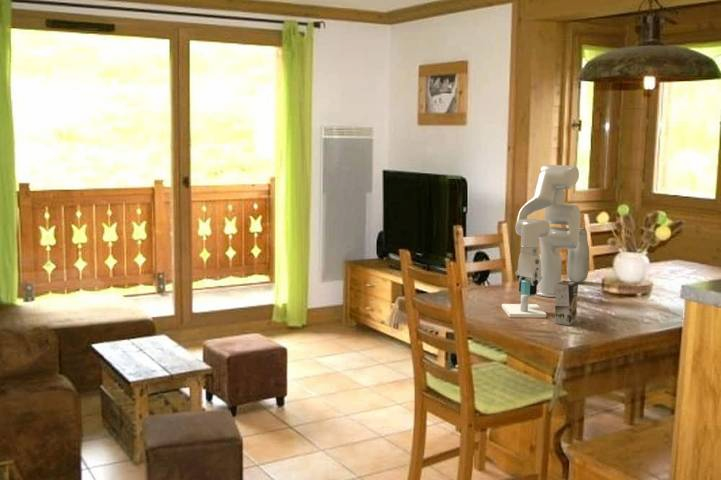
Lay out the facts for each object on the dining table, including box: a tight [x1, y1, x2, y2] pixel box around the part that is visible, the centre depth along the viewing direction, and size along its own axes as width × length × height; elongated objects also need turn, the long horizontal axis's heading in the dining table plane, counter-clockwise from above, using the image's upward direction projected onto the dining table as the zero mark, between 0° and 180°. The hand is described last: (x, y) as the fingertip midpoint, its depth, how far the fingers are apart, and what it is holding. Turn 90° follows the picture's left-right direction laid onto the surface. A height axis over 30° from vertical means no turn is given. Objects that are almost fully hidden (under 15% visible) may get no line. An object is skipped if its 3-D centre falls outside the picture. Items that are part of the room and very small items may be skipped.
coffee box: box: [554, 280, 579, 326], centre depth 310 cm, size 9×6×16 cm
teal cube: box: [520, 278, 536, 297], centre depth 330 cm, size 6×6×6 cm
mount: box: [501, 294, 547, 319], centre depth 327 cm, size 15×18×8 cm
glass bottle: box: [566, 226, 590, 284], centre depth 390 cm, size 10×10×28 cm
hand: (527, 292), depth 330 cm, fingers closed on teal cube, 6 cm apart
